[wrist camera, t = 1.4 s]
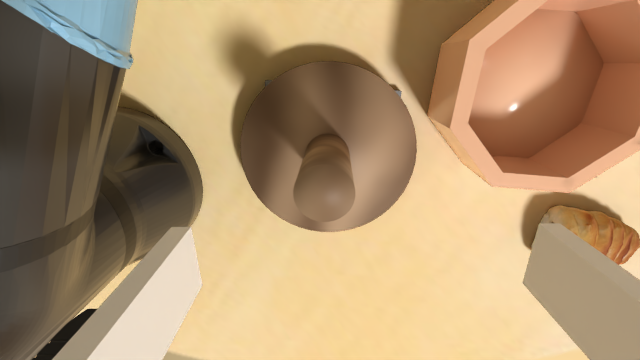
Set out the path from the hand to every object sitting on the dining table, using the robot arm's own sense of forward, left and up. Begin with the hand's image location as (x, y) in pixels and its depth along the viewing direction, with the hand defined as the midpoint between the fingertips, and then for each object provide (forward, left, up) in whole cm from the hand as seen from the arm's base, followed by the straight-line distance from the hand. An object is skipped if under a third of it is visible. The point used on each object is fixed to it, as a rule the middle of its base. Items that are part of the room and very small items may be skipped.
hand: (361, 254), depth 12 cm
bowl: (+14, +6, -19) cm, 24 cm away
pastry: (+24, -8, -19) cm, 32 cm away
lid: (-2, -1, -18) cm, 18 cm away
